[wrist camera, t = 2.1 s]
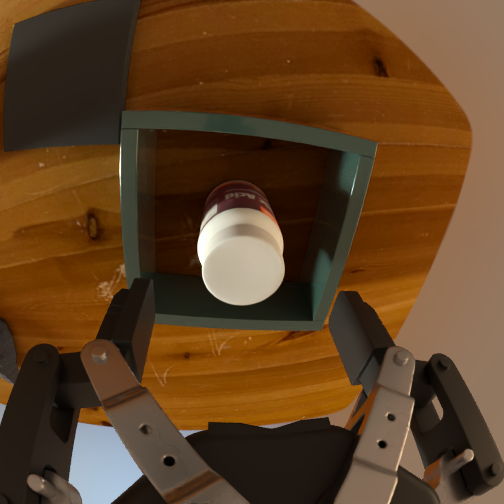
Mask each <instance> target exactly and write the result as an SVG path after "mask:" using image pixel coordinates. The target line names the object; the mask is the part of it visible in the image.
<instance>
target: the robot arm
mask: <svg viewBox="0 0 504 504" xmlns="http://www.w3.org/2000/svg"><path fill="white" fill-rule="evenodd" d="M154 321H155V300H154V286H153V280H152V279H144V278H134V280H133V283H132V285H131V287H130V289H121V290H120V291H119V292H118V293H117V294H115V295H114V297H113V299H112V301H111V304H110V306H109V308H108V310H107V313H106V315H105V317H104V320H103V322H102V325H101V327H100V329H99V332H98V334H97V337H96V339H95V340H93V341H90V342H89V343H87V344H86V345H85V346H84V347H83V348H82V350H81V351H80V352H76V353H65V354H59V352H58V350H57V349H56V348H55V347H54V346H52V345H50V344H39V345H36V346H34V347H33V348H31V349H30V350H29V352H28V353H27V355H26V357H25V359H24V362H23V364H22V366H21V369H20V371H19V374H18V376H17V379H16V381H15V384H14V386H13V389H12V392H11V394H10V397H9V400H8V403H7V406H6V409H5V411H4V415H3V418H2V421H1V424H0V504H82V499H81V496H80V493H79V492H78V490H77V489H76V488H75V487H74V486H73V485H71V484H70V483H68V481H69V472H70V465H71V457H72V451H73V445H74V439H75V433H76V428H77V423H78V418H79V413H80V409H81V408H88V407H98V406H102V407H103V409H104V411H105V413H106V414H107V416H108V418H109V420H110V422H111V424H112V425H113V427H114V429H115V430H116V432H117V434H118V436H119V437H120V439H121V441H122V442H123V444H124V445H125V447H126V449H127V450H128V452H129V453H130V455H131V456H132V458H133V460H134V461H135V463H136V464H137V465H138V467H139V468H140V470H141V471H142V473H143V474H144V475H142V476H141V477H140V478H139V479H138V480H137V481H136V482H135V483H134V484H133V485H132V486H130V487H129V488H128V489H127V490H126V491H125V492H124V493H123V494H121V495H120V496H119V497H118V498H117V499H116V500H114V501H113V502H112V503H111V504H466V503H468V502H470V501H471V500H473V499H475V498H477V497H479V496H480V495H482V494H484V493H486V492H487V491H489V490H491V489H492V488H494V487H495V486H497V485H498V484H500V483H501V482H502V480H503V478H504V463H503V460H502V458H501V456H500V453H499V451H498V449H497V446H496V444H495V442H494V439H493V437H492V435H491V433H490V431H489V429H488V426H487V424H486V422H485V420H484V418H483V416H482V414H481V412H480V410H479V408H478V406H477V404H476V402H475V401H474V398H473V397H472V395H471V393H470V391H469V389H468V387H467V386H466V384H465V382H464V380H463V378H462V377H461V375H460V373H459V371H458V370H457V368H456V366H455V364H454V363H453V361H452V360H451V359H450V358H449V357H447V356H446V355H443V354H440V353H437V354H434V355H432V357H431V358H430V360H429V361H428V362H427V361H420V360H415V359H414V357H413V355H412V354H411V353H410V352H409V351H408V350H406V349H405V348H402V347H399V346H396V345H395V344H394V342H393V340H392V338H391V337H390V335H389V333H388V332H387V330H386V328H385V327H384V325H383V323H382V322H381V320H380V319H379V317H378V315H377V313H376V312H375V310H374V309H373V308H372V307H371V306H370V305H368V304H367V303H366V302H363V300H362V298H361V297H360V295H359V294H358V292H356V291H340V292H339V294H338V296H337V298H336V301H335V304H334V307H333V309H332V312H331V315H330V318H329V330H330V333H331V335H332V337H333V340H334V342H335V345H336V347H337V350H338V352H339V355H340V357H341V360H342V362H343V365H344V367H345V370H346V372H347V375H348V377H349V380H350V382H351V385H360V384H362V386H363V389H362V390H361V392H360V394H359V396H358V399H357V401H356V404H355V406H354V409H353V411H352V413H351V415H350V418H349V420H348V422H347V424H346V426H345V427H344V428H342V427H339V426H334V425H330V421H329V418H328V417H326V418H317V419H307V420H300V421H297V422H294V423H291V424H287V425H284V426H281V427H278V428H273V429H270V428H263V427H258V426H253V425H248V424H243V423H221V422H208V430H204V431H200V432H197V433H193V434H191V435H189V436H187V437H185V438H184V437H183V436H182V434H181V433H180V432H179V431H178V429H177V428H176V427H175V425H174V424H173V423H172V422H171V420H170V419H169V418H168V416H167V415H166V414H165V412H164V411H163V410H162V408H161V407H160V406H159V404H158V403H157V401H156V400H155V399H154V397H153V396H152V394H151V393H150V392H149V390H148V389H147V388H146V387H142V386H141V385H140V383H141V381H142V376H143V371H144V366H145V361H146V356H147V352H148V347H149V343H150V338H151V334H152V330H153V325H154ZM436 396H437V397H438V400H439V402H440V404H441V406H442V408H443V418H442V419H441V421H440V419H439V417H438V414H437V412H436V410H435V407H434V405H433V403H432V400H433V399H434V398H435V397H436ZM409 425H410V428H411V431H412V434H413V436H414V439H415V441H416V444H417V447H418V450H419V453H420V456H421V459H422V462H423V465H424V468H425V472H424V478H423V479H422V480H421V479H420V478H418V477H416V476H415V475H413V474H412V473H410V472H409V471H407V470H406V469H404V468H403V467H401V466H400V465H399V462H400V458H401V455H402V452H403V448H404V444H405V441H406V437H407V433H408V429H409Z"/></svg>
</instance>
